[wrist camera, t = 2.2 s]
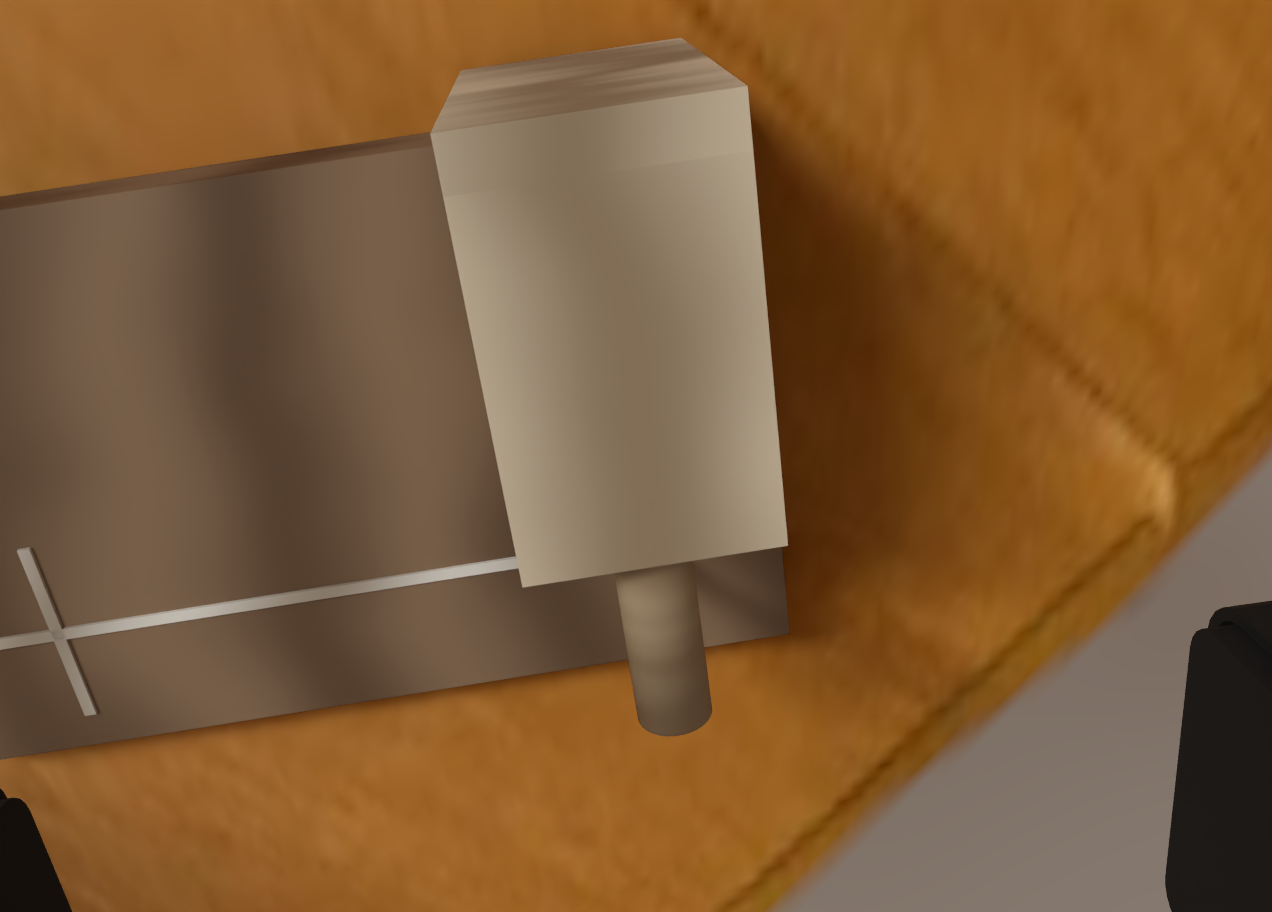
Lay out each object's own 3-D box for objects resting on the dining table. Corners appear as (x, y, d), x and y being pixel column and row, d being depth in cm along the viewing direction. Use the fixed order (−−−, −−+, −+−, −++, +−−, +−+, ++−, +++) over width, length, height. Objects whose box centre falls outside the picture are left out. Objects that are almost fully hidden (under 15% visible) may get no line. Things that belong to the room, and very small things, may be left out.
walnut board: (727, 87, 27) (742, 100, 25) (775, 594, 33) (790, 635, 31) (-260, 235, 27) (-321, 259, 25) (-32, 723, 33) (-67, 772, 31)
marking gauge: (680, 37, 26) (747, 85, 18) (735, 532, 31) (804, 737, 23) (461, 70, 26) (429, 133, 18) (552, 561, 31) (561, 777, 23)
